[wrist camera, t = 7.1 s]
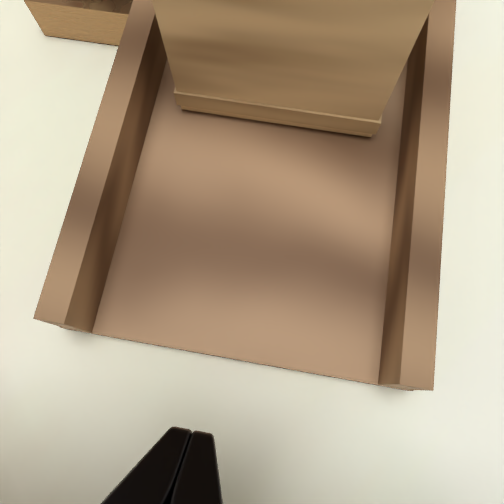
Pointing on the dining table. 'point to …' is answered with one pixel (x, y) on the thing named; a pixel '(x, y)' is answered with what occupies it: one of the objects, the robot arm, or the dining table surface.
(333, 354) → the bay
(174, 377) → the dining table surface
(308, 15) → the tall wooden block
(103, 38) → the post
